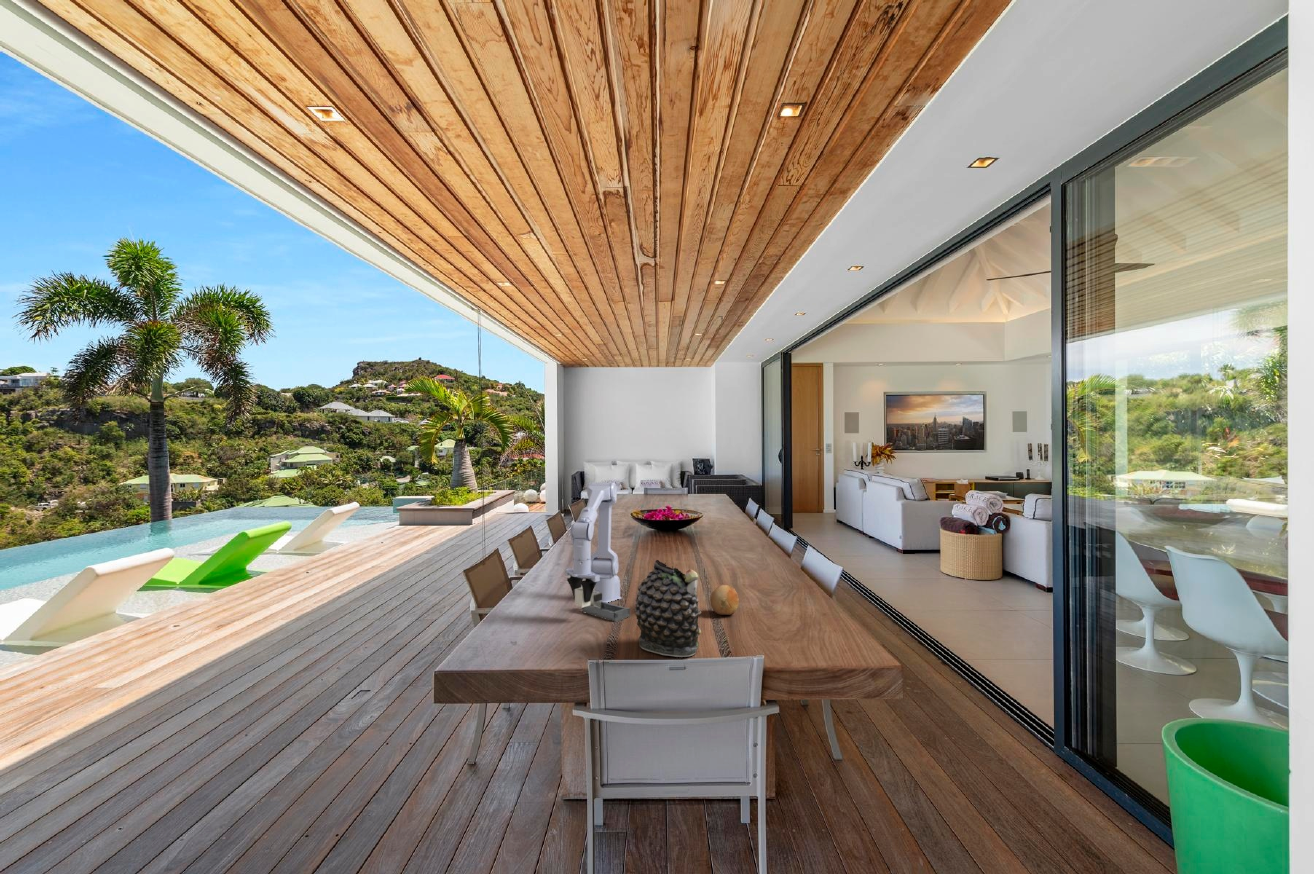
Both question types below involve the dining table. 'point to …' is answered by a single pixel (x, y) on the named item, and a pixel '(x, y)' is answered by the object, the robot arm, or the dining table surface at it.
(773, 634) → the dining table surface
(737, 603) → the onion
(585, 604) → the cream rectangular block
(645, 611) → the scaly pinecone figurine
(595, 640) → the dining table surface
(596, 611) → the rail
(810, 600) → the dining table surface
